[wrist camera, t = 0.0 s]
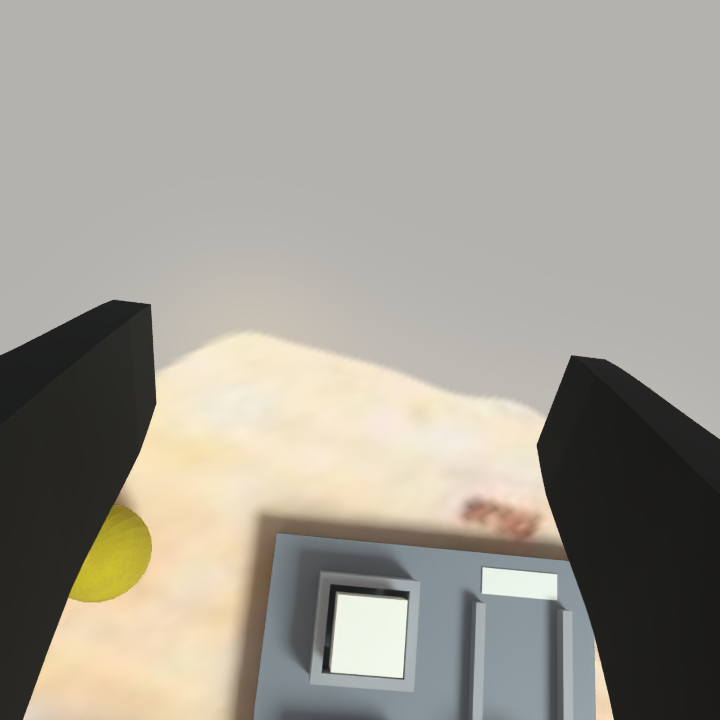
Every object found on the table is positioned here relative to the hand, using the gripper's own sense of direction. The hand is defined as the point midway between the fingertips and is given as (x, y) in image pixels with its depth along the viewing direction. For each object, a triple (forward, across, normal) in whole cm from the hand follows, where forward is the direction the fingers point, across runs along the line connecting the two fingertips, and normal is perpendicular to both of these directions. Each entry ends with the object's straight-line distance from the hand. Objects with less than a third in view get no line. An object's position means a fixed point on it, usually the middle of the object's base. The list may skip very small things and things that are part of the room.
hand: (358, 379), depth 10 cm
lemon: (+18, +12, +28) cm, 35 cm away
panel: (+12, -8, +32) cm, 35 cm away
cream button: (+13, -4, +26) cm, 30 cm away
